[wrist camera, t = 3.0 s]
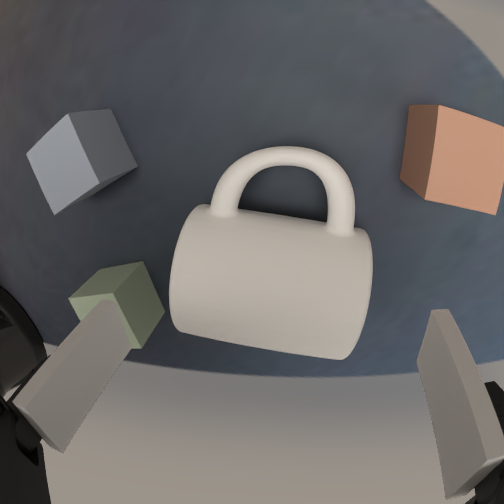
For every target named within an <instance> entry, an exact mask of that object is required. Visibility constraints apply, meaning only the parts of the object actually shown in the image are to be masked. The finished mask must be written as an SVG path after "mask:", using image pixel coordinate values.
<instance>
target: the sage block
mask: <svg viewBox="0 0 504 504" xmlns="http://www.w3.org/2000/svg"><path fill="white" fill-rule="evenodd" d="M68 299H69V301H70V303H71V305H72V306H73V308H74V310H75V312H76V314H77V316H78V318H79V319H80V321H82V320H83V319H84V318H85V317H86V316H87V315H88V314H89V312H90V311H91V310H92V309H93V308H94V307H95V306H96V305H97V304H98V303H99V302H100V301H101V300H109V301H115V304H116V307H117V310H118V313H119V316H120V318H121V321H122V324H123V327H124V329H125V332H126V335H127V337H128V340H129V343H130V345H131V349H140V348H142V347H143V346H144V344H145V343H146V341H147V339H148V338H149V336H150V335H151V333H152V332H153V330H154V329H155V327H156V325H157V324H158V322H159V321H160V319H161V318H162V316H163V315H164V313H165V310H164V308H163V306H162V303H161V301H160V299H159V297H158V294H157V292H156V290H155V287H154V285H153V283H152V280H151V278H150V276H149V273H148V271H147V269H146V266H145V264H144V261H141V262H136V263H130V264H125V265H120V266H115V267H109V268H104V269H100V270H99V271H97V272H96V273H95V274H94V275H93V276H92V277H91V278H90V279H89V280H88V281H86V282H85V283H84V284H83V285H82V286H81V287H80V288H79V289H78V290H77V291H76V292H75V293H74V294H72V295H71V296H70V297H69V298H68Z"/></svg>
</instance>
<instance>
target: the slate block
mask: <svg viewBox="0 0 504 504" xmlns="http://www.w3.org/2000/svg"><path fill="white" fill-rule="evenodd" d="M27 157H28V159H29V162H30V164H31V166H32V169H33V171H34V173H35V175H36V178H37V180H38V182H39V184H40V187H41V189H42V191H43V193H44V195H45V197H46V199H47V201H48V203H49V205H50V208H51V210H52V212H53V214H54V215H56V214H58V213H59V212H61V211H63V210H65V209H67V208H69V207H70V206H72V205H74V204H76V203H78V202H80V201H82V200H84V199H86V198H88V197H90V196H91V195H93V194H95V193H96V192H98V191H99V190H101V189H102V188H104V187H106V186H107V185H109V184H110V183H112V182H113V181H115V180H117V179H118V178H120V177H121V176H123V175H125V174H126V173H128V172H129V171H131V170H133V169H134V168H136V167H138V166H137V164H136V162H135V159H134V157H133V155H132V153H131V151H130V149H129V147H128V145H127V143H126V141H125V139H124V136H123V134H122V132H121V130H120V128H119V126H118V124H117V121H116V119H115V117H114V115H113V113H112V110H111V109H102V110H92V111H83V112H75V113H68V114H67V115H66V116H64V117H63V118H62V119H61V120H60V121H59V122H58V123H57V124H56V125H55V126H54V127H53V128H52V129H50V130H49V131H48V132H47V133H46V134H45V135H44V136H43V137H42V138H41V139H40V140H39V141H38V142H37V143H36V144H35V145H34V146H33V148H32V149H31V150H30V151H29V152H28V153H27Z"/></svg>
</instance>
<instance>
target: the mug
mask: <svg viewBox="0 0 504 504" xmlns="http://www.w3.org/2000/svg"><path fill="white" fill-rule="evenodd" d="M280 165H290V166H299V167H303V168H306V169H309V170H311V171H313V172H314V173H315V174H317V175H318V176H319V178H320V179H321V180H322V182H323V184H324V187H325V189H326V193H327V201H328V217H327V222H321V221H315V220H309V219H303V218H296V217H290V216H284V215H277V214H271V213H264V212H258V211H251V210H244V209H238V204H239V200H240V197H241V194H242V192H243V189H244V187H245V186H246V184H247V182H248V181H249V180H250V179H251V178H252V177H253V176H254V175H255V174H256V173H257V172H259V171H261V170H263V169H265V168H268V167H272V166H280ZM354 221H355V199H354V193H353V188H352V185H351V182H350V180H349V178H348V176H347V174H346V173H345V171H344V170H343V168H342V167H341V166H340V165H339V164H338V163H337V162H336V161H334V160H333V159H332V158H330V157H329V156H327V155H325V154H323V153H321V152H318V151H316V150H312V149H308V148H303V147H295V146H279V147H270V148H265V149H261V150H258V151H255V152H252V153H249V154H247V155H245V156H243V157H242V158H240V159H238V160H237V161H236V162H234V163H233V164H232V165H231V166H230V167H229V168H228V169H227V170H226V171H225V172H224V174H223V175H222V176H221V178H220V180H219V181H218V183H217V186H216V188H215V190H214V194H213V197H212V201H211V205H208V204H201V205H198V206H197V207H195V208H194V209H193V210H192V212H191V213H190V214H189V216H188V217H187V219H186V221H185V223H184V225H183V227H182V230H181V232H180V235H179V238H178V241H177V245H176V248H175V252H174V257H173V261H172V267H171V274H170V284H169V305H170V313H171V318H172V321H173V324H174V326H175V327H176V328H177V330H179V331H180V332H183V333H187V334H192V335H196V336H201V337H205V338H210V339H215V340H220V341H225V342H230V343H235V344H240V345H245V346H251V347H256V348H262V349H268V350H274V351H280V352H286V353H293V354H300V355H306V356H314V357H321V358H329V359H337V360H342V359H345V358H346V357H347V356H348V355H349V354H350V353H351V352H352V350H353V349H354V347H355V345H356V343H357V341H358V339H359V337H360V334H361V331H362V328H363V325H364V322H365V318H366V314H367V310H368V306H369V300H370V294H371V286H372V274H373V257H372V247H371V242H370V239H369V236H368V234H367V233H366V231H364V230H363V229H360V228H355V227H354Z"/></svg>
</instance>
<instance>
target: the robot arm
mask: <svg viewBox="0 0 504 504" xmlns="http://www.w3.org/2000/svg"><path fill="white" fill-rule="evenodd" d="M130 349H131V345H130V343H129V340H128V337H127V335H126V332H125V329H124V327H123V324H122V321H121V318H120V316H119V313H118V310H117V307H116V304H115V301H109V300H101V301H100V302H99V303H98V304H97V305H96V306H95V307H94V308H93V309H92V310H91V311H90V312H89V314H88V315H87V316H86V317H85V318H84V319H83V320H82V321H81V322H80V323H79V324H78V325H77V326H76V328H75V329H74V330H73V331H72V332H71V333H70V334H69V335H68V336H67V338H66V339H65V340H64V341H63V342H62V343H61V344H60V345H59V346H58V348H57V349H56V350H55V351H54V352H53V353H52V354H51V355H49V356H48V357H47V354H46V350H45V347H44V344H43V342H42V339H41V337H40V335H39V333H38V332H37V330H36V328H35V326H34V325H33V323H32V322H31V320H30V319H29V317H28V316H27V314H26V313H25V312H24V310H23V309H22V308H21V307H20V305H19V304H18V303H17V302H16V301H15V300H14V299H13V298H12V297H11V296H10V295H9V294H8V293H7V292H6V291H5V290H4V289H2V288H1V287H0V504H51V500H50V495H49V489H48V483H47V477H46V470H45V462H44V453H43V447H42V445H41V443H40V441H41V439H42V438H43V440H44V441H45V442H46V443H47V444H48V445H49V446H50V447H52V448H54V449H55V450H57V451H59V452H61V453H64V451H65V449H66V447H67V446H68V445H69V443H70V441H71V439H72V438H73V436H74V435H75V433H76V432H77V430H78V428H79V427H80V425H81V424H82V422H83V421H84V419H85V417H86V416H87V414H88V413H89V411H90V410H91V408H92V407H93V405H94V403H95V402H96V400H97V399H98V397H99V396H100V394H101V393H102V391H103V390H104V388H105V387H106V385H107V384H108V382H109V381H110V379H111V378H112V376H113V374H114V373H115V372H116V370H117V369H118V367H119V366H120V364H121V363H122V361H123V360H124V358H125V357H126V355H127V354H128V352H129V351H130ZM416 363H417V366H418V369H419V373H420V376H421V380H422V384H423V387H424V391H425V395H426V398H427V403H428V407H429V411H430V415H431V420H432V424H433V429H434V433H435V438H436V443H437V448H438V453H439V458H440V465H441V470H442V477H443V483H444V490H445V497H446V500H448V499H452V498H456V497H460V496H464V495H467V494H468V493H469V492H470V491H471V490H472V489H473V488H475V494H476V495H475V496H474V497H472V498H471V499H470V500H469V501H467V502H466V503H465V504H504V391H503V390H502V389H501V388H500V387H499V386H498V384H497V383H496V382H495V381H492V382H487V383H484V382H483V380H482V377H481V375H480V373H479V370H478V368H477V366H476V364H475V361H474V359H473V357H472V355H471V353H470V351H469V349H468V346H467V344H466V342H465V340H464V338H463V336H462V334H461V332H460V330H459V328H458V326H457V324H456V322H455V321H454V319H453V317H452V315H451V313H450V311H449V309H440V310H431V314H430V318H429V321H428V325H427V329H426V332H425V336H424V339H423V342H422V345H421V349H420V352H419V355H418V358H417V361H416ZM19 385H20V386H19ZM17 386H19V387H18V389H17V390H16V391H15V392H14V394H13V395H12V396H11V397H10V398H9V400H8V401H7V402H6V401H5V400H4V398H3V397H4V395H5V394H6V393H7V392H8V391H10V390H12V389H13V388H15V387H17Z"/></svg>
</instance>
